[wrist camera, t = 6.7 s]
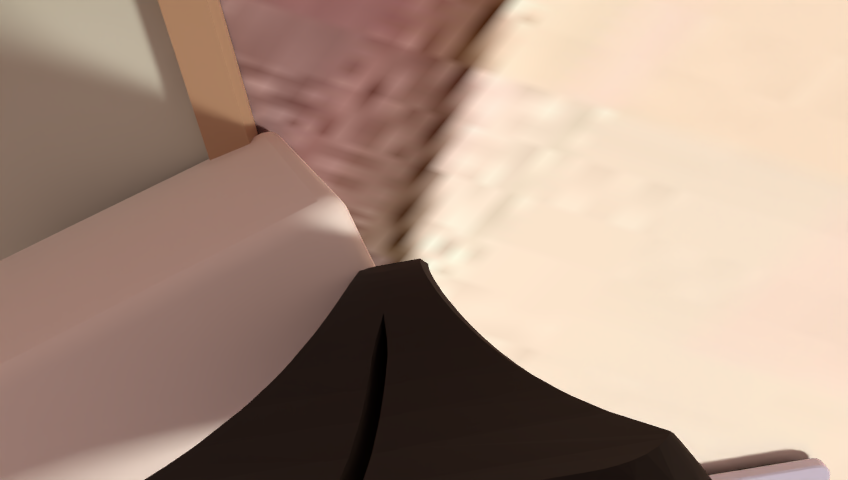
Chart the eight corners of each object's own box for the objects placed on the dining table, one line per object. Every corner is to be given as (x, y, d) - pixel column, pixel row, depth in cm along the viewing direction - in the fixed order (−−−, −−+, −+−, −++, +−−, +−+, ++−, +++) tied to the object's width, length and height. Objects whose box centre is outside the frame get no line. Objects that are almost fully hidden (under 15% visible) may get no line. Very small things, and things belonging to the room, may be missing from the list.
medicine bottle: (273, 123, 17) (-239, 373, 15) (341, 189, 10) (-548, 646, 8) (389, 351, 20) (-25, 586, 18) (497, 511, 13) (-133, 910, 11)
